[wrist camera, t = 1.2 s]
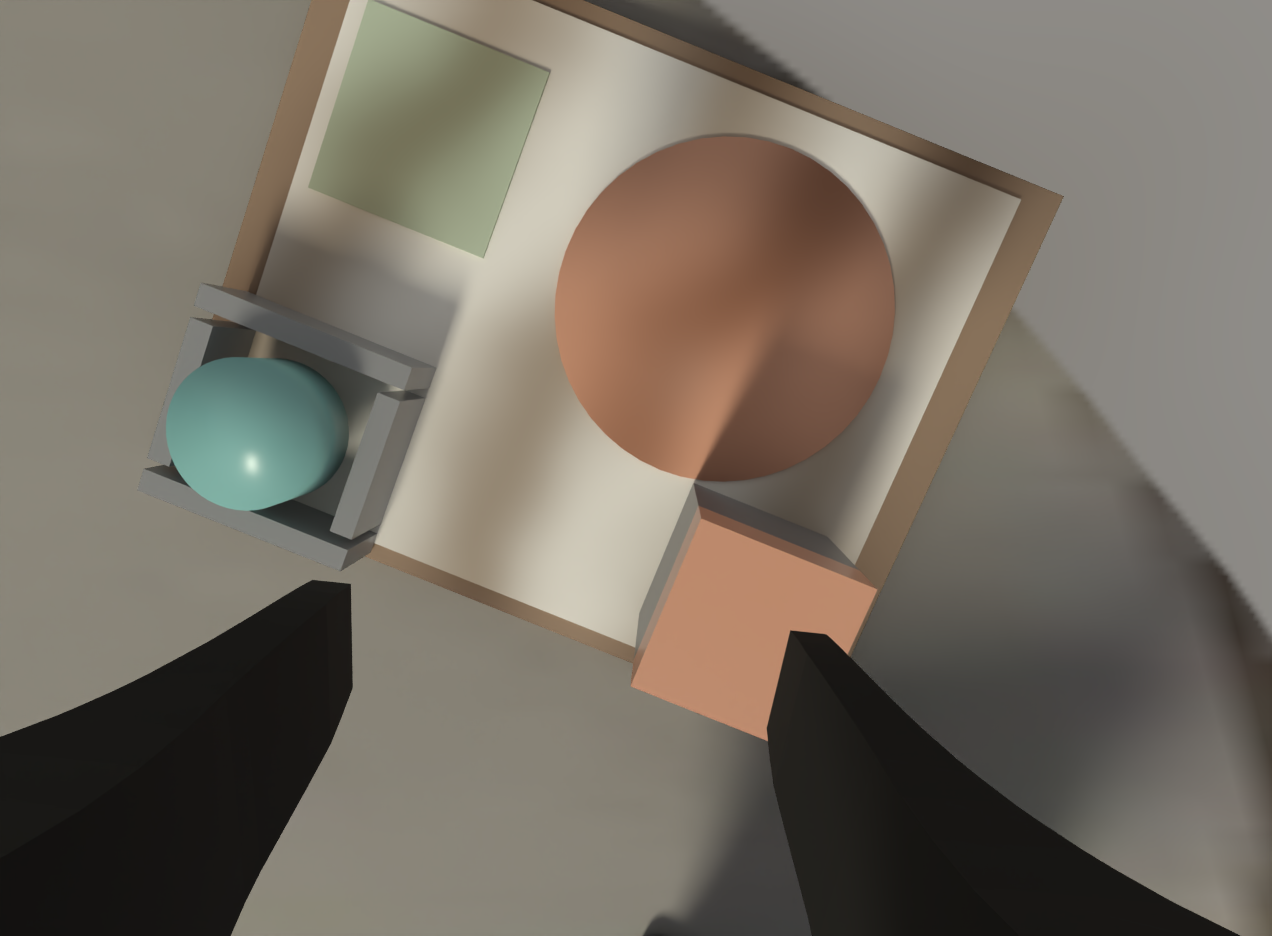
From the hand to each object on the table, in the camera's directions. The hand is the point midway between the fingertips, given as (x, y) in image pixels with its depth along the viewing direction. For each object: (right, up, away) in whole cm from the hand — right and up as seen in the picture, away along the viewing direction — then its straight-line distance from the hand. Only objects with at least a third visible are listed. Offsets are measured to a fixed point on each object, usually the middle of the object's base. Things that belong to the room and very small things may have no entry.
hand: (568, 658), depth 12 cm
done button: (-8, +4, +7) cm, 12 cm away
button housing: (-8, +4, +9) cm, 13 cm away
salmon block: (+4, 0, +9) cm, 10 cm away
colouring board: (0, +7, +9) cm, 11 cm away
